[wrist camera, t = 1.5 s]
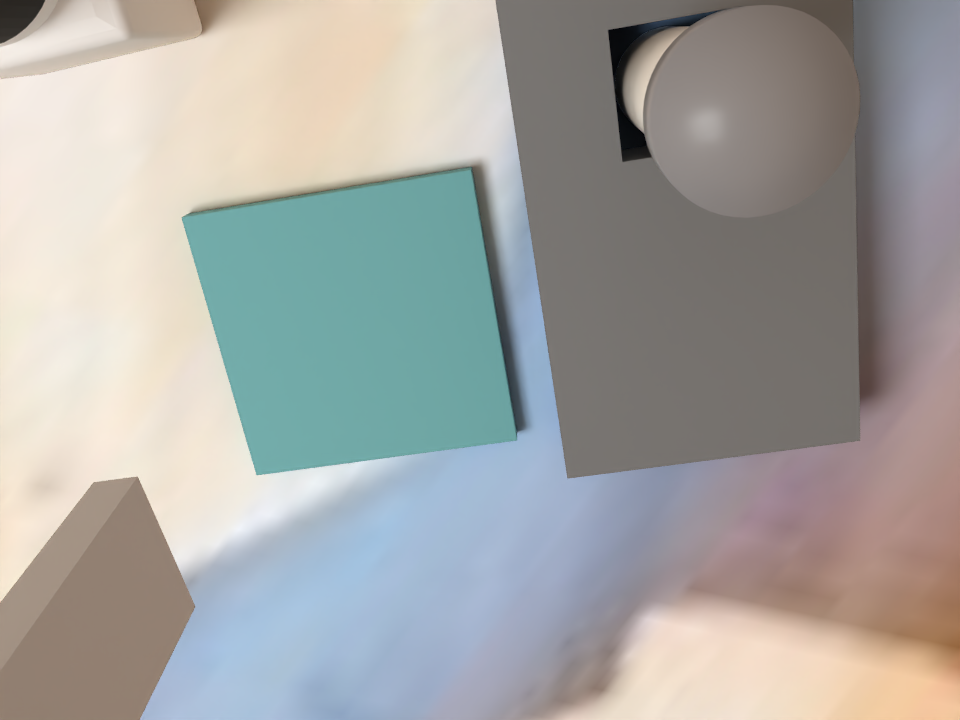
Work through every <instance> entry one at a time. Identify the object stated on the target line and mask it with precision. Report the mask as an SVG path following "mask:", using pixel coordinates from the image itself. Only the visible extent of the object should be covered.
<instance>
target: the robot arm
mask: <svg viewBox="0 0 960 720" xmlns="http://www.w3.org/2000/svg"><path fill="white" fill-rule="evenodd" d="M194 608H195V605H194V603H193V600H192V598H191V596H190V594H189V591H188V589H187V587H186V585H185V582H184V580H183V578H182V575H181V573H180V571H179V569H178V566H177V564H176V562H175V560H174V557H173V555H172V553H171V551H170V548H169V546H168V544H167V542H166V539H165V537H164V535H163V533H162V530H161V528H160V526H159V524H158V521H157V519H156V517H155V515H154V512H153V510H152V508H151V506H150V503H149V501H148V499H147V497H146V494H145V492H144V490H143V488H142V485H141V483H140V481H139V478H138V477H131V478H123V479H116V480H108V481H101V482H94V483H93V484H92V485H91V487H90V488H89V489H88V490H87V492H86V493H85V494H84V496H83V497H82V498H81V499H80V501H79V502H78V503H77V505H76V506H75V507H74V508H73V510H72V511H71V512H70V514H69V515H68V516H67V517H66V519H65V520H64V521H63V523H62V524H61V525H60V526H59V528H58V529H57V530H56V532H55V533H54V534H53V536H52V537H51V538H50V539H49V541H48V542H47V543H46V545H45V546H44V547H43V548H42V550H41V551H40V552H39V554H38V555H37V556H36V557H35V559H34V560H33V561H32V563H31V564H30V565H29V566H28V568H27V569H26V570H25V572H24V573H23V574H22V575H21V577H20V578H19V579H18V581H17V582H16V583H15V584H14V586H13V587H12V588H11V590H10V591H9V592H8V594H7V595H6V596H5V597H4V599H3V600H2V601H1V603H0V720H140V718H141V716H142V714H143V712H144V710H145V708H146V706H147V704H148V701H149V699H150V697H151V695H152V693H153V691H154V689H155V687H156V685H157V683H158V681H159V679H160V677H161V675H162V673H163V671H164V669H165V667H166V665H167V663H168V661H169V659H170V657H171V655H172V653H173V651H174V649H175V647H176V645H177V643H178V641H179V639H180V637H181V635H182V633H183V631H184V628H185V626H186V624H187V622H188V620H189V618H190V616H191V614H192V612H193V610H194Z"/></svg>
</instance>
